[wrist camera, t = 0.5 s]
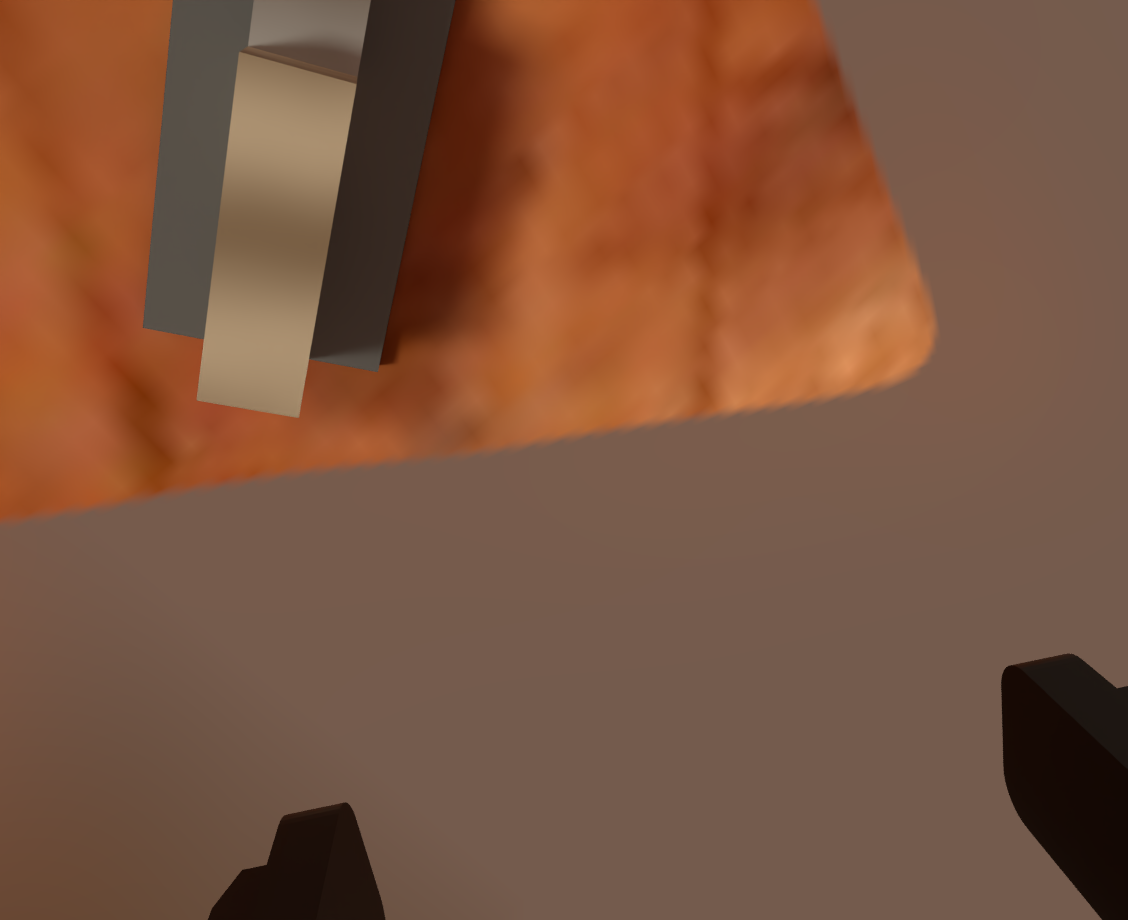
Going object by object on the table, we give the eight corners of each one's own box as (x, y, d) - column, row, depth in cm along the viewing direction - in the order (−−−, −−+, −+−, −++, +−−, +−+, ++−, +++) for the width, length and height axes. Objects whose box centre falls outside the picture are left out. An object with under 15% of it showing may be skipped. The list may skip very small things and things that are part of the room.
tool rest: (146, 322, 32) (142, 327, 31) (205, -307, 24) (201, -313, 24) (377, 365, 34) (377, 372, 34) (494, -197, 27) (497, -201, 26)
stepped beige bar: (307, 358, 33) (298, 417, 29) (219, 342, 32) (196, 400, 28) (389, -113, 27) (393, -128, 22) (283, -149, 26) (266, -173, 22)
